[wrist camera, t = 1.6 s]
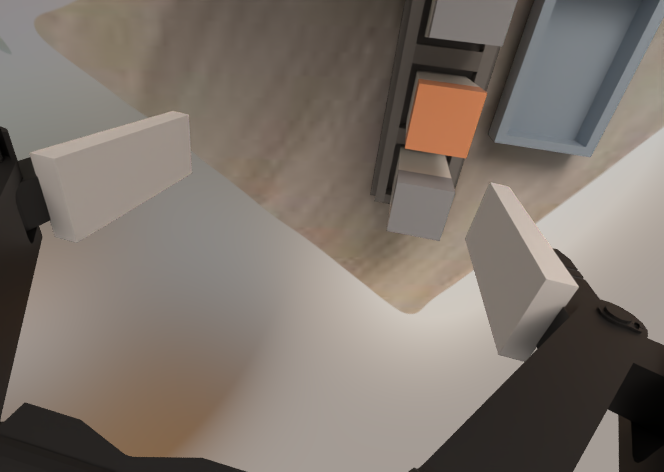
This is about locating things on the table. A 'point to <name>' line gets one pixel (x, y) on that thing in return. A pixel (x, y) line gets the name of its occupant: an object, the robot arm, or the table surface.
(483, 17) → the block
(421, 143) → the block
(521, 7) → the table surface
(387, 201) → the block
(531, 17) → the tray
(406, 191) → the block
